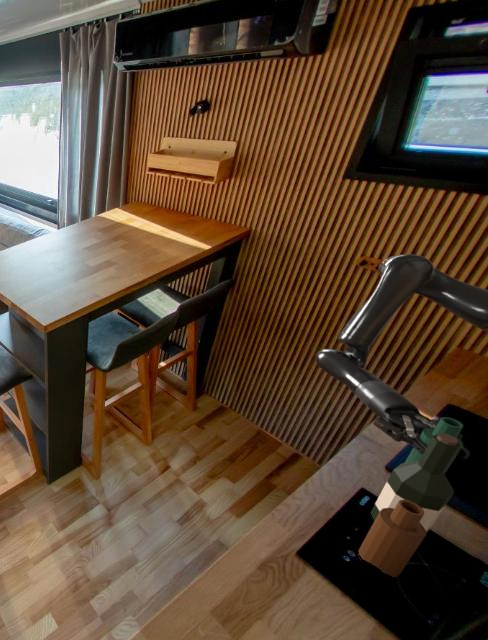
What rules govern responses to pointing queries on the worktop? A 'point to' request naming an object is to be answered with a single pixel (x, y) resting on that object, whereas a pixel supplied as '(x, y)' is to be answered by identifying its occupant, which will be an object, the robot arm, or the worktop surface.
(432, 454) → the wine bottle
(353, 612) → the worktop surface
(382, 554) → the brown bottle
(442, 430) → the green bottle
